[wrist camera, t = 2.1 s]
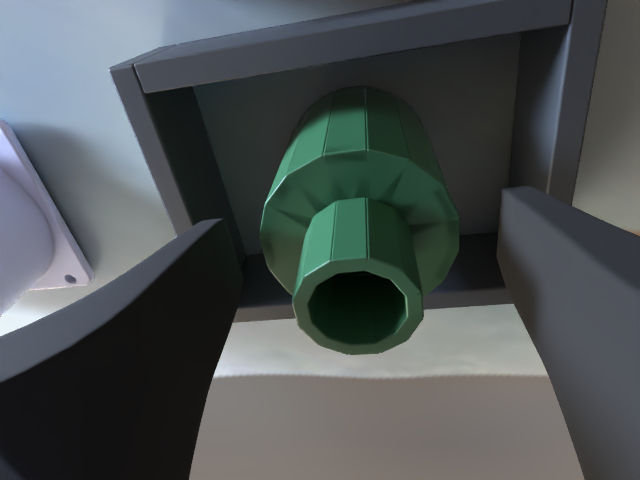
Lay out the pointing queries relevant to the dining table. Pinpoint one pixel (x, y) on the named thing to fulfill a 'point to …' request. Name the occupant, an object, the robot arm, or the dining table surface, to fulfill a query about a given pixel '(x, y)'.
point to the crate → (355, 43)
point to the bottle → (359, 221)
